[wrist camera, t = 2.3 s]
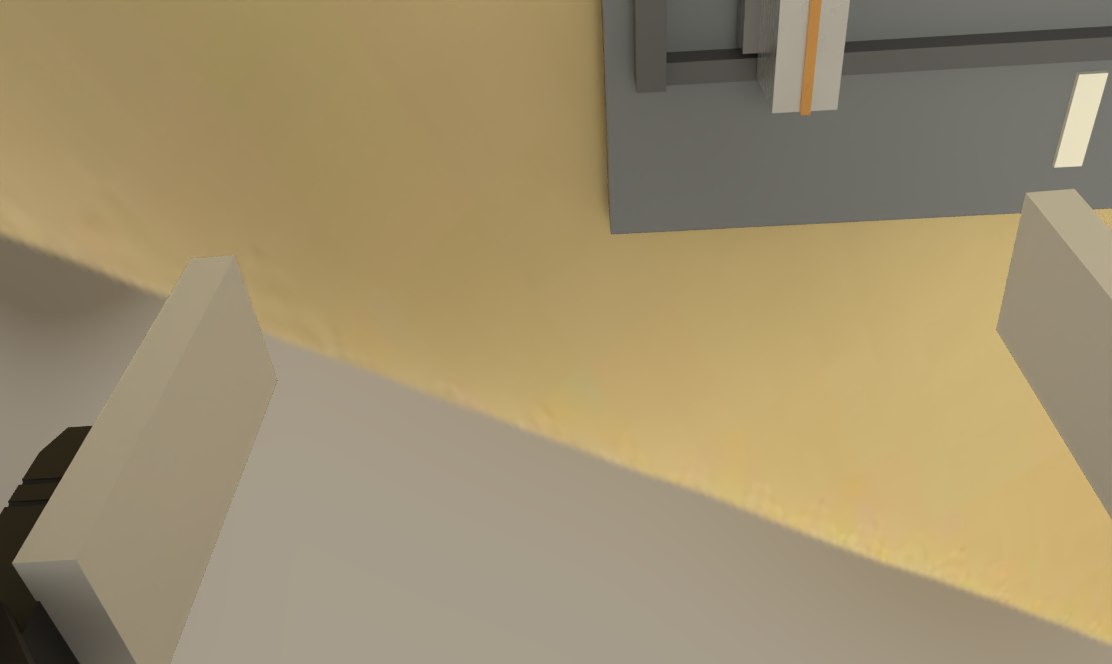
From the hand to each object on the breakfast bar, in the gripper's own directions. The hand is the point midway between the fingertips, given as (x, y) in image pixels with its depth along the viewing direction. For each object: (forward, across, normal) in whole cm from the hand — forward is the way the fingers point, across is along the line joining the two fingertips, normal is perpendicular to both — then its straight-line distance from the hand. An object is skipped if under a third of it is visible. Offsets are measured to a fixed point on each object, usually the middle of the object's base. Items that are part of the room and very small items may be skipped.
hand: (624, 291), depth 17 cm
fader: (+19, +6, -1) cm, 20 cm away
